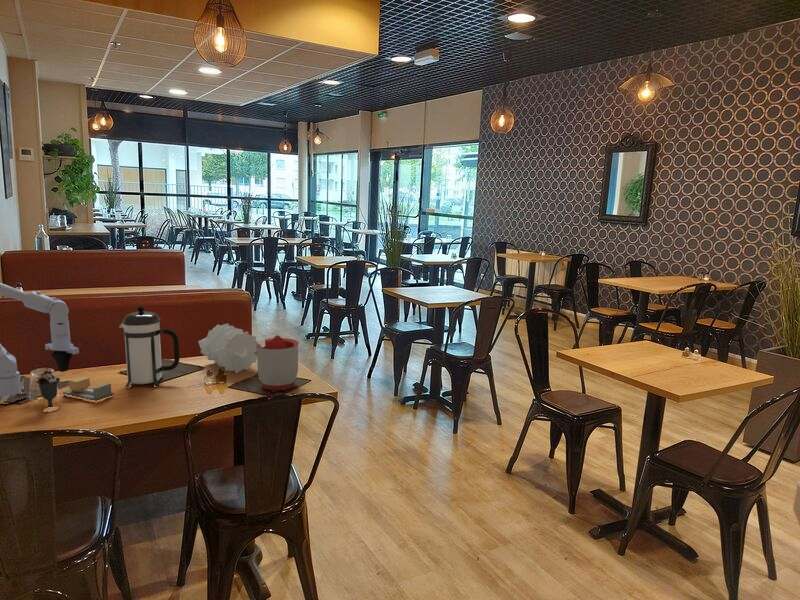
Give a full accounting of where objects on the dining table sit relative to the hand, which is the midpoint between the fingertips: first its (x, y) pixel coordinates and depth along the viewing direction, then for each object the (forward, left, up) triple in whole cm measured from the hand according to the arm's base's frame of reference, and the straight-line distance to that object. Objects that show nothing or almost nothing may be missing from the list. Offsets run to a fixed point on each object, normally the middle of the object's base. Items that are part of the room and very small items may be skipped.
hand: (63, 371), depth 200 cm
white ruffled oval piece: (+33, +50, -8) cm, 60 cm away
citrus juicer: (+64, +38, -8) cm, 75 cm away
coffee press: (+19, +20, -8) cm, 29 cm away
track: (+11, 0, -8) cm, 14 cm away
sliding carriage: (+7, 0, -6) cm, 10 cm away
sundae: (+11, -14, -8) cm, 20 cm away
